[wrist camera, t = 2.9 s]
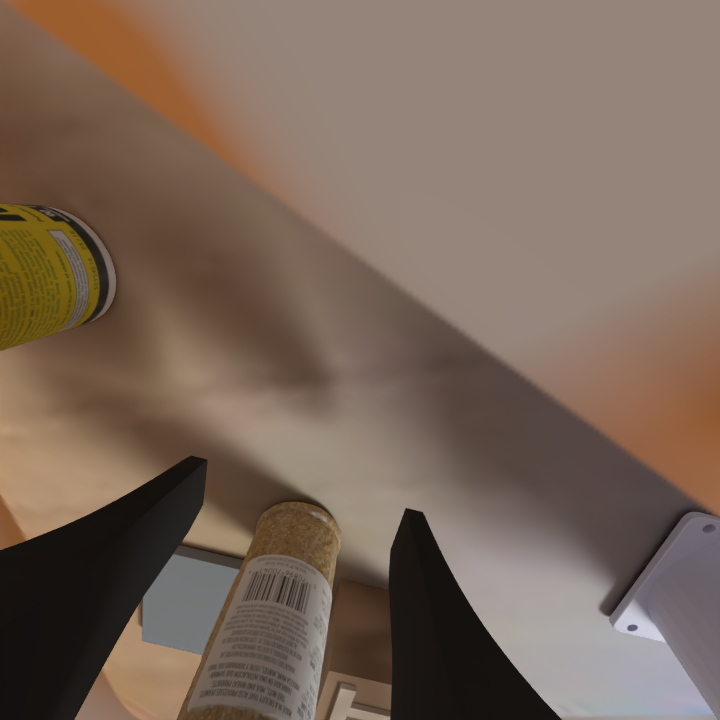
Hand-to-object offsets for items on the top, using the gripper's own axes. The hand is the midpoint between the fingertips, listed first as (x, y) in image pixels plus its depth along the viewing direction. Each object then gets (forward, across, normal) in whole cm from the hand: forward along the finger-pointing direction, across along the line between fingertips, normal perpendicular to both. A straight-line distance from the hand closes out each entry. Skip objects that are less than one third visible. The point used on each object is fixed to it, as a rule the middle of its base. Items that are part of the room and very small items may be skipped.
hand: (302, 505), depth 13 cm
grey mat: (+4, +4, +13) cm, 14 cm away
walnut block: (+4, -5, +11) cm, 13 cm away
